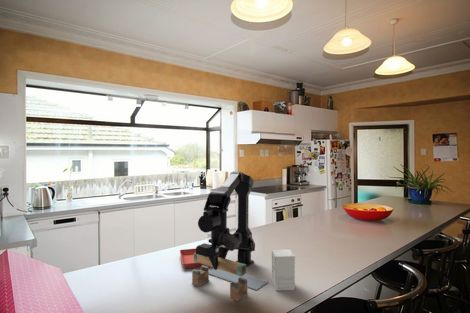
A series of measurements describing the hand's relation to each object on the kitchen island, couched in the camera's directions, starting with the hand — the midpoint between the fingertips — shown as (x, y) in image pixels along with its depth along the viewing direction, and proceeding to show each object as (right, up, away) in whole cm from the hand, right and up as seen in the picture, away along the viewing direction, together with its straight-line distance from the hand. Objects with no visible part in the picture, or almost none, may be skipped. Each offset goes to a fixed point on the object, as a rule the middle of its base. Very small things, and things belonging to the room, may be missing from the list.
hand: (218, 268), depth 100 cm
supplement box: (+24, -8, +3) cm, 25 cm away
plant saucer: (-10, -8, +27) cm, 30 cm away
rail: (0, 0, 0) cm, 0 cm away
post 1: (-7, -8, +5) cm, 12 cm away
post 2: (+7, -8, -5) cm, 12 cm away
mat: (+6, -8, +9) cm, 14 cm away
